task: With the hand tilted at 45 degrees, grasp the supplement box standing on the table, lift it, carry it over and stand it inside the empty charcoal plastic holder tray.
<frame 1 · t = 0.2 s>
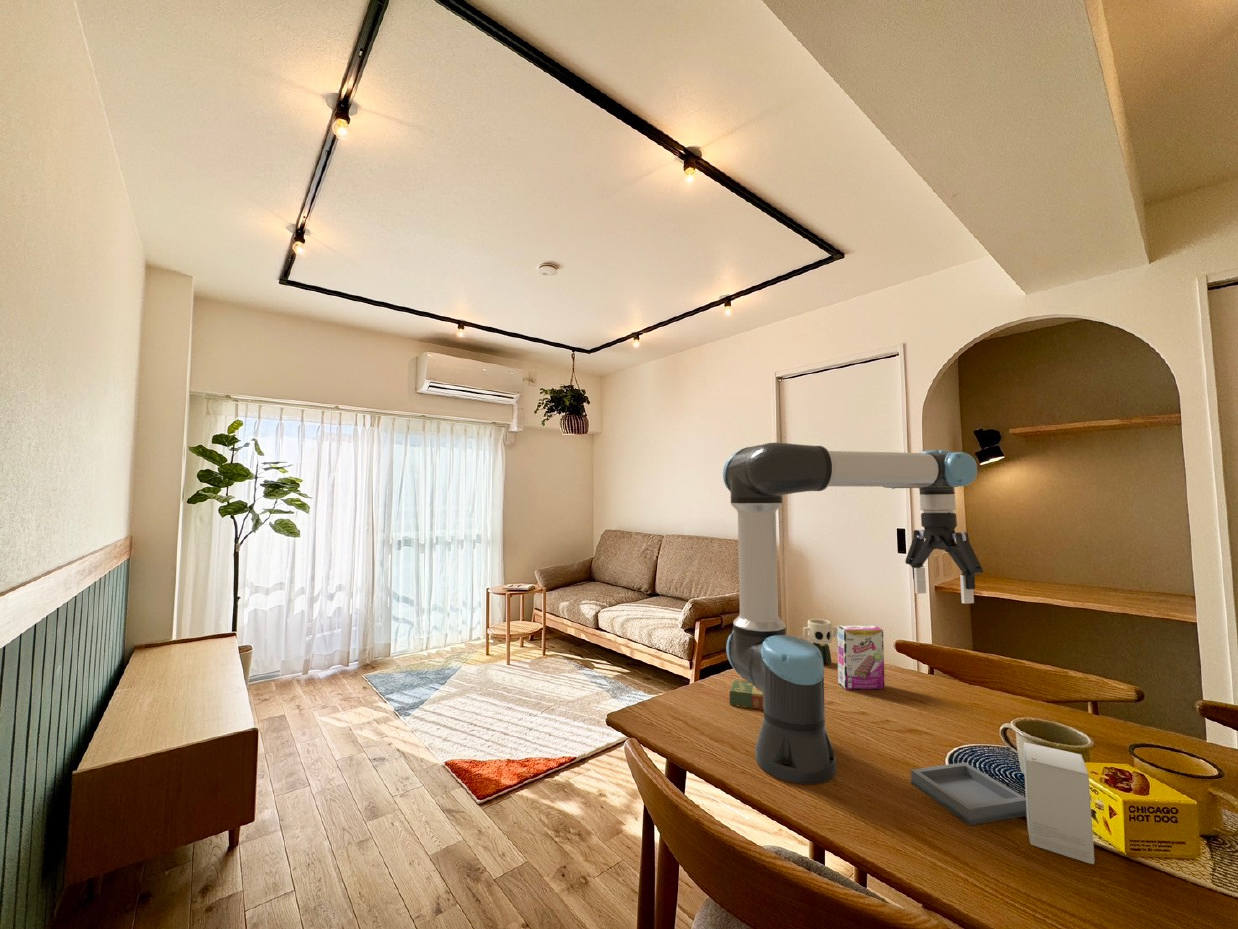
hand: (943, 598, 123), 28 cm above the table, tool pointing down, fingers open, 13 cm apart
candy bar box: (861, 687, 138), on the table
holder tray: (967, 798, 87), on the table
character mug: (820, 663, 159), on the table
supplement box: (1059, 843, 76), on the table
carton: (763, 705, 128), on the table
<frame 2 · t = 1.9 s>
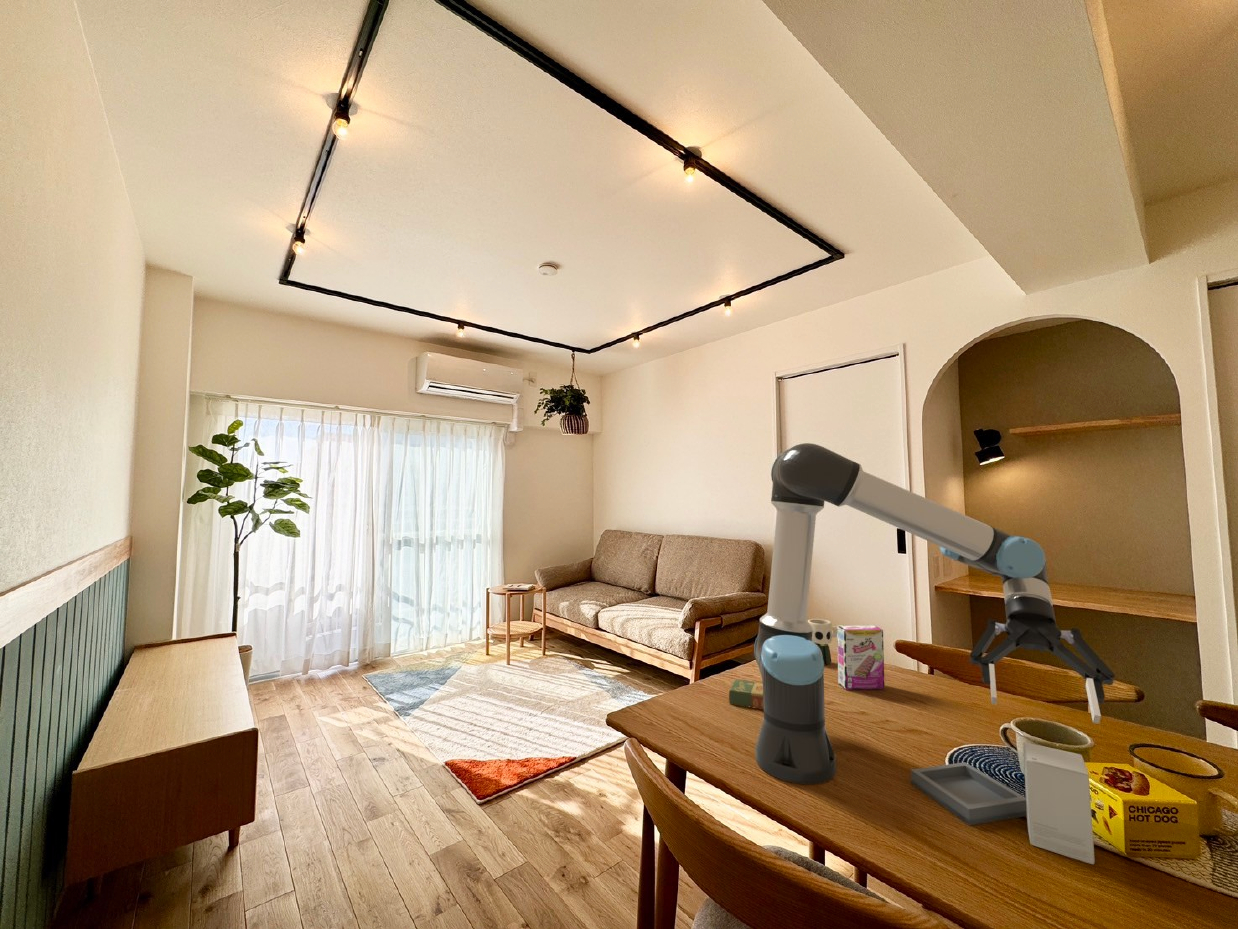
hand: (1043, 710, 86), 16 cm above the table, tool tilted 45°, fingers open, 13 cm apart
nothing on the table moved.
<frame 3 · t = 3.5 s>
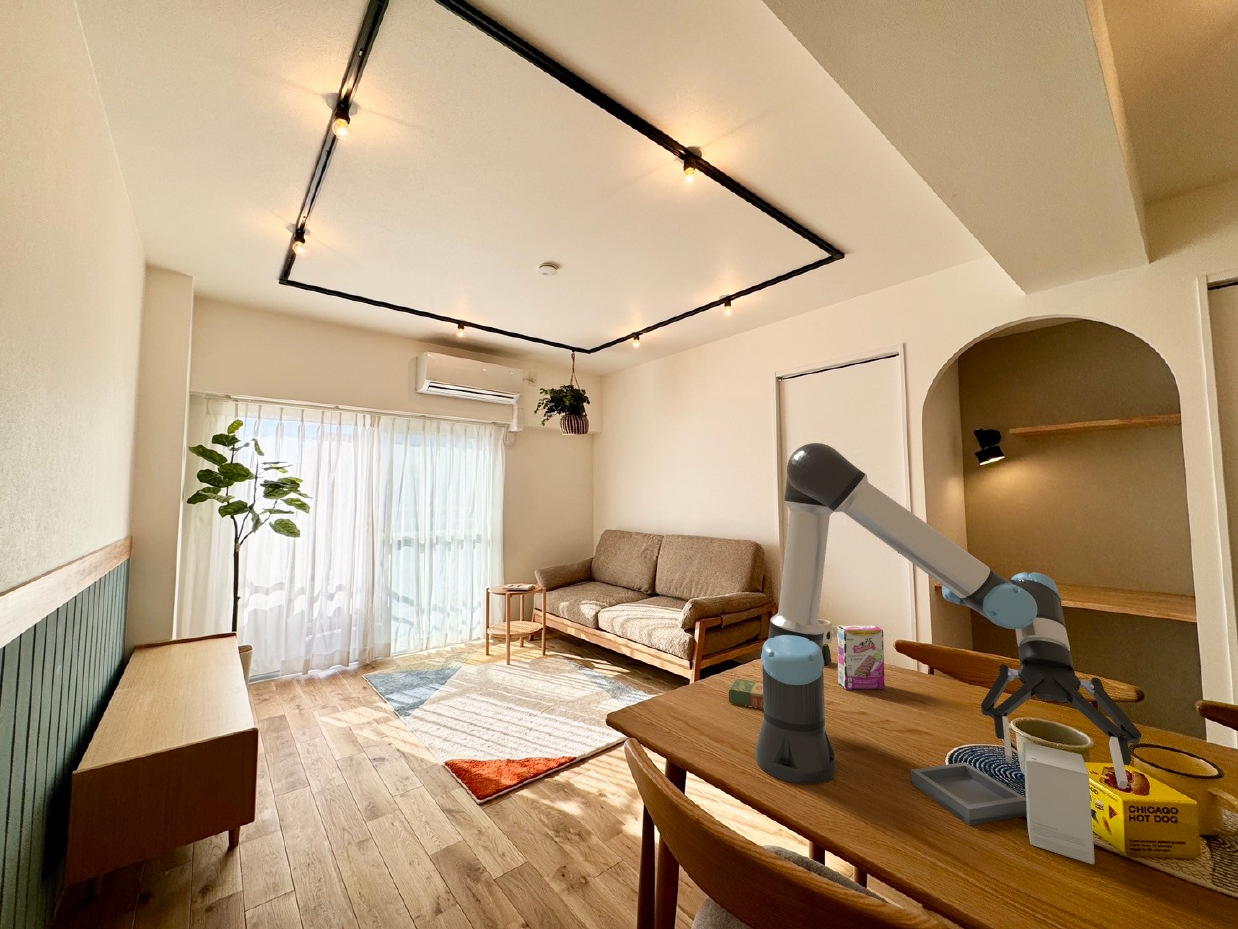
hand: (1063, 771, 79), 9 cm above the table, tool tilted 45°, fingers open, 13 cm apart
nothing on the table moved.
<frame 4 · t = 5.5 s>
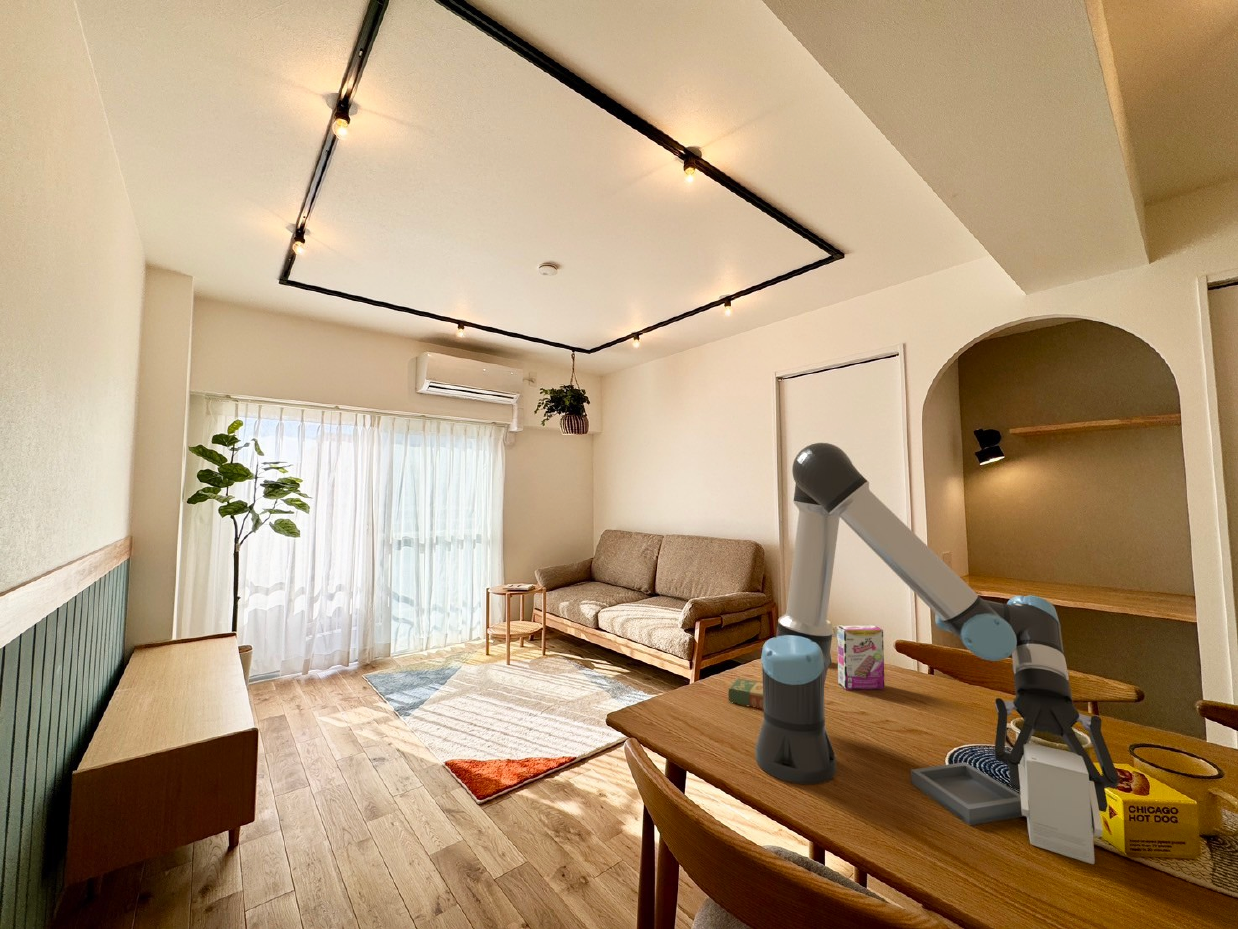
hand: (1060, 822, 74), 5 cm above the table, tool tilted 45°, fingers closed on supplement box, 7 cm apart
supplement box: (1059, 843, 76), on the table, touching gripper
everything else where it was.
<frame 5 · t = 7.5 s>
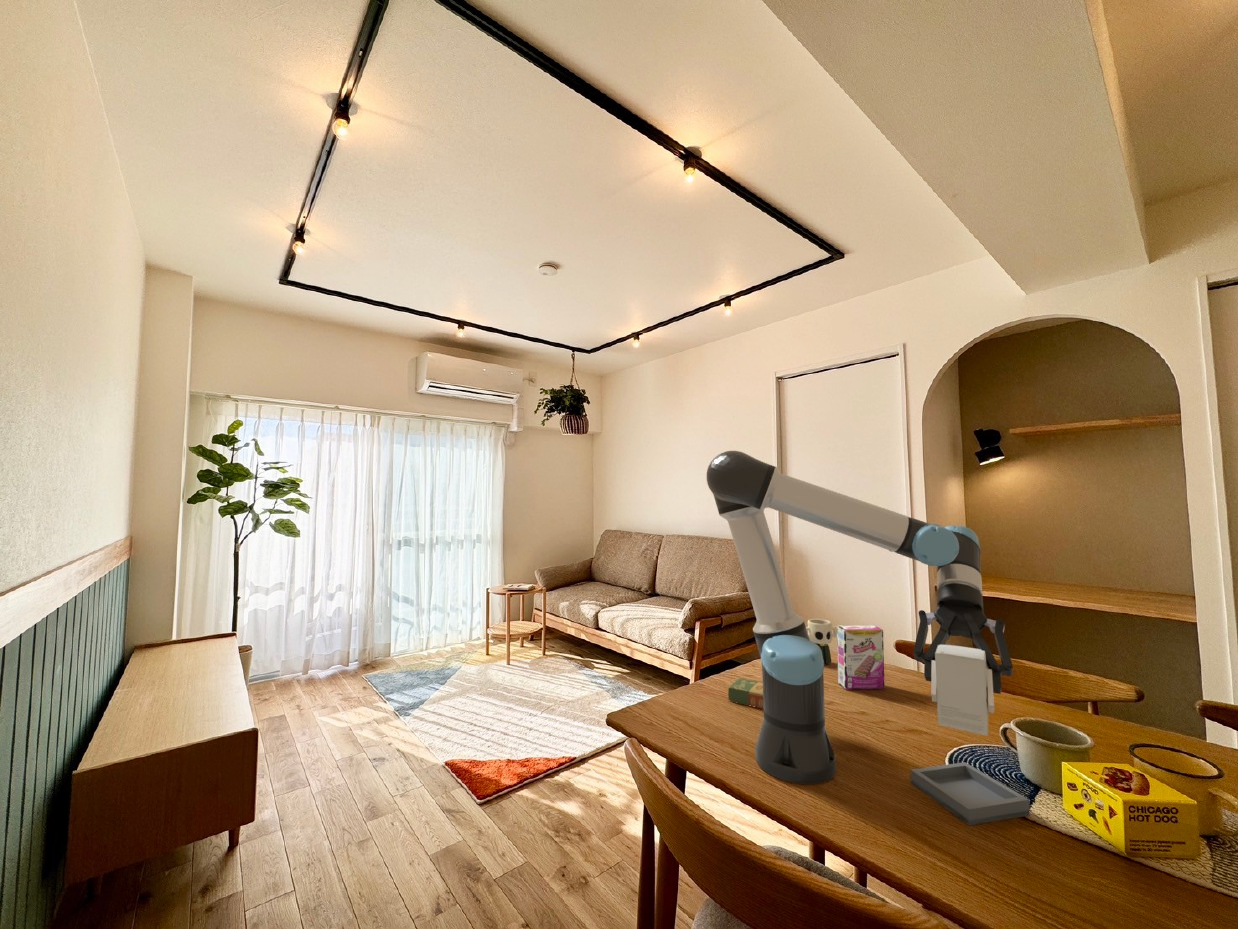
hand: (962, 703, 85), 17 cm above the table, tool tilted 45°, fingers closed on supplement box, 7 cm apart
supplement box: (963, 724, 88), point 13 cm above the table, touching gripper
when the fingers open (7 cm above the table, at t = 9.8 s): supplement box stays where it is, resting on holder tray.
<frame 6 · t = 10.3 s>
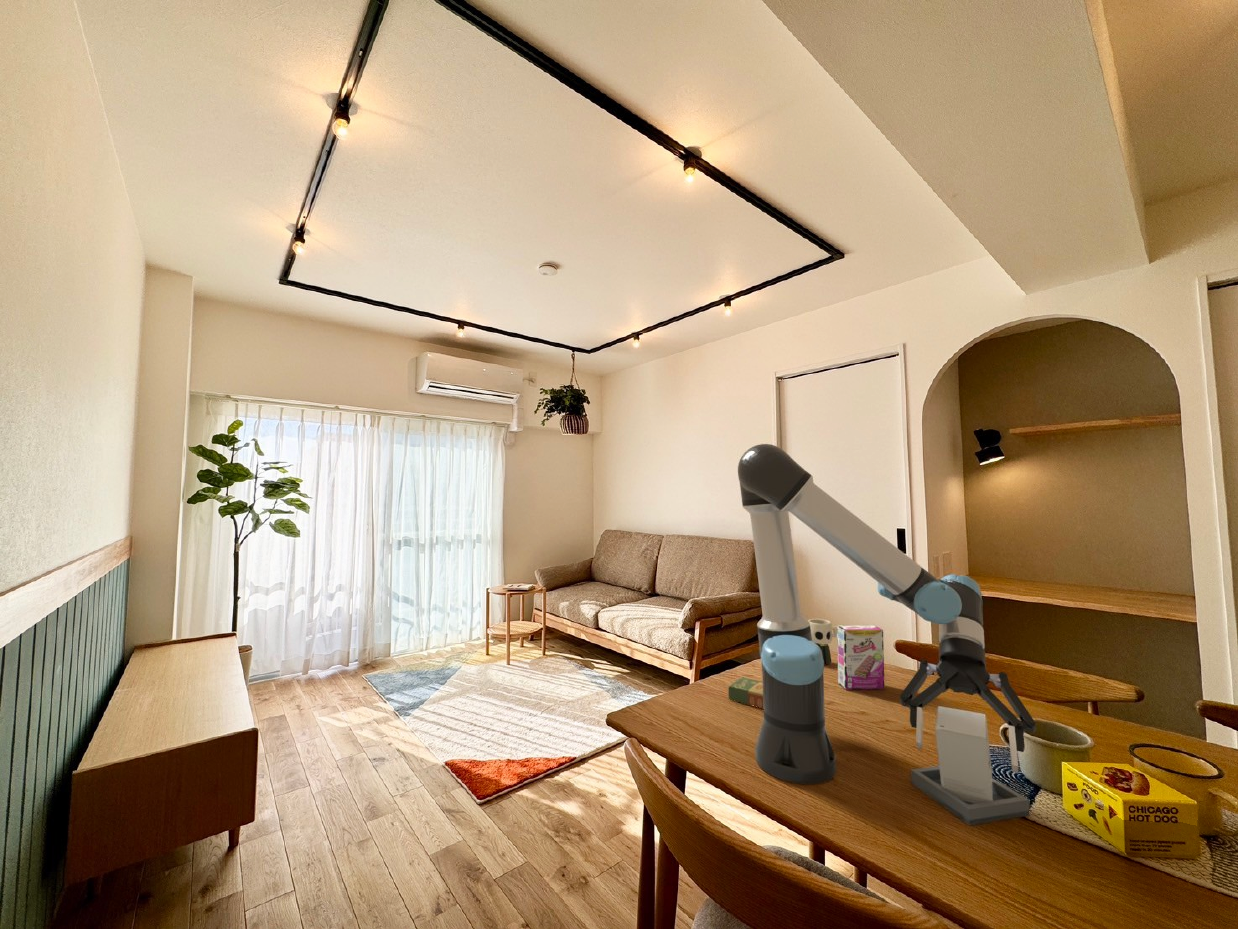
hand: (965, 757, 86), 8 cm above the table, tool tilted 45°, fingers open, 13 cm apart
supplement box: (968, 789, 87), point 1 cm above the table, touching holder tray
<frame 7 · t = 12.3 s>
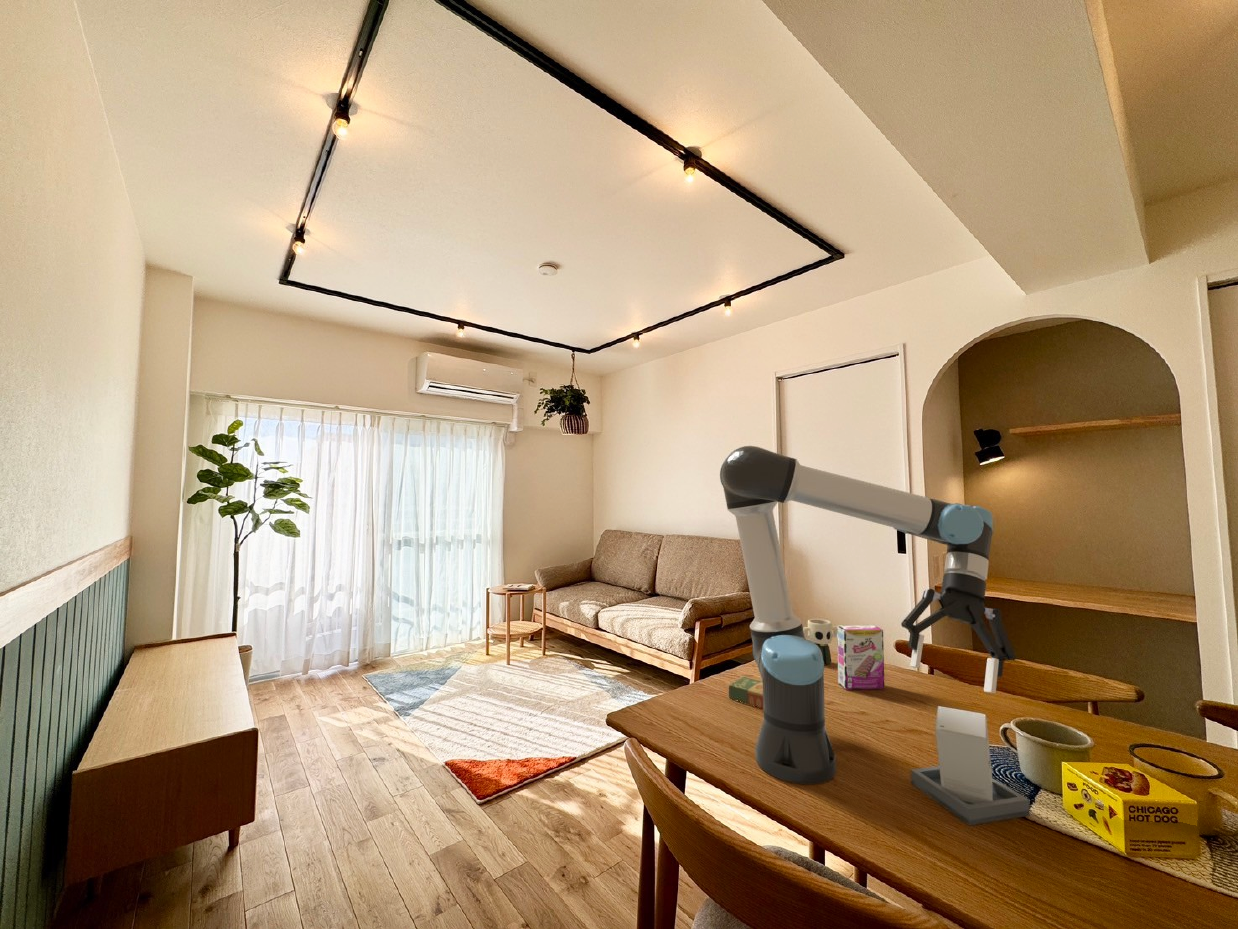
hand: (951, 679, 99), 16 cm above the table, tool tilted 25°, fingers open, 13 cm apart
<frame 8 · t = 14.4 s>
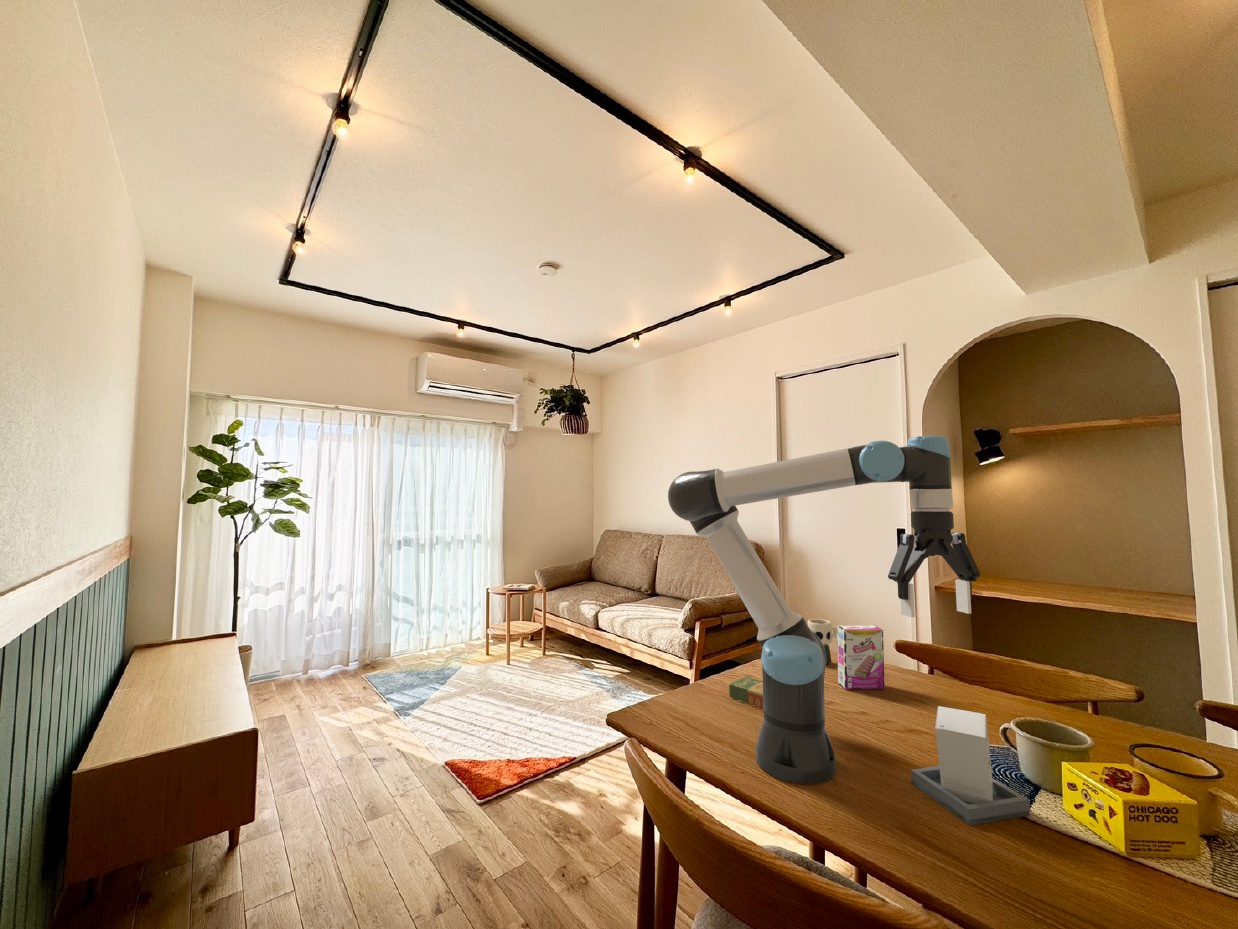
hand: (936, 614, 102), 29 cm above the table, tool pointing down, fingers open, 13 cm apart
at the end: supplement box inside the target area on the holder tray (0.3 cm from its centre), point 1.5 cm above the holder tray's base; supplement box tilted 12°; the gripper is holding nothing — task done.
